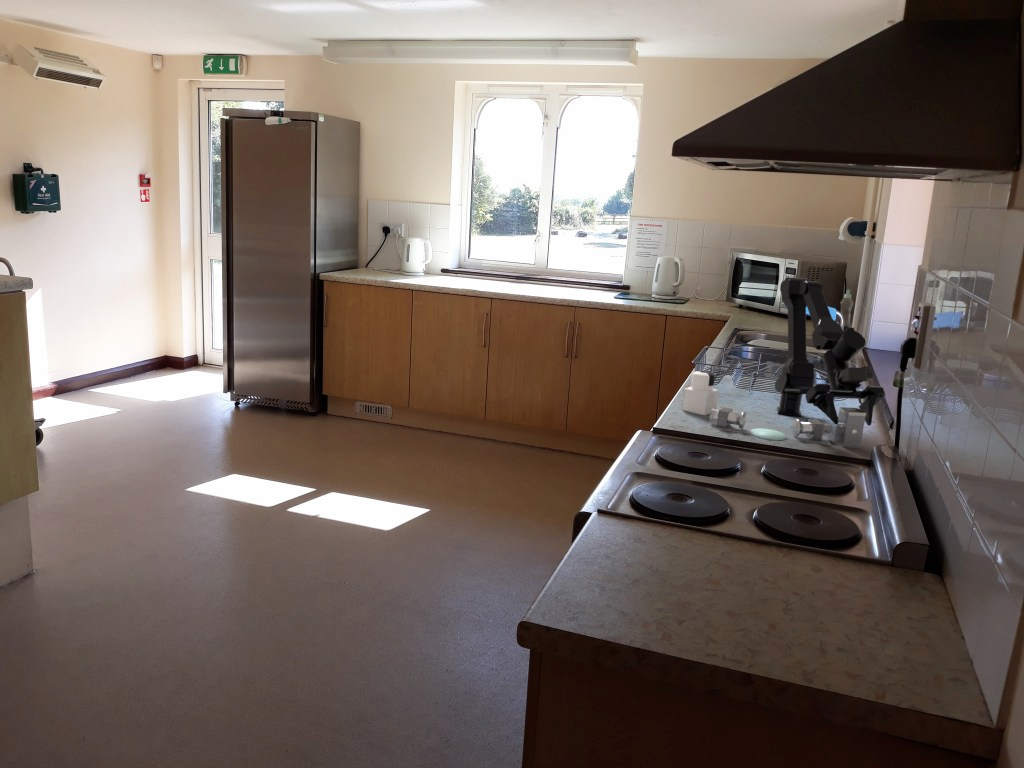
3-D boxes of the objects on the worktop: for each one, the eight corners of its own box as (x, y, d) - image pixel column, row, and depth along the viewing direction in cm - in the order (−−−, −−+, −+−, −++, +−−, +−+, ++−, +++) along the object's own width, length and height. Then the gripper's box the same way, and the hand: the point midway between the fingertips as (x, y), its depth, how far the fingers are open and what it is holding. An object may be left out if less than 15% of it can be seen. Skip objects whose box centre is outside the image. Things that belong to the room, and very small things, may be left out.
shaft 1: (744, 427, 213) (747, 410, 212) (740, 431, 210) (742, 414, 208) (712, 421, 217) (715, 404, 216) (707, 425, 214) (709, 407, 212)
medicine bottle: (692, 409, 233) (698, 367, 230) (715, 414, 229) (721, 372, 226) (680, 413, 228) (686, 371, 225) (704, 418, 223) (709, 376, 221)
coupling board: (708, 421, 221) (709, 416, 221) (825, 436, 214) (826, 432, 214) (707, 434, 208) (707, 429, 208) (831, 452, 201) (832, 447, 201)
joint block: (832, 444, 208) (838, 406, 205) (849, 445, 208) (855, 407, 206) (842, 451, 203) (849, 412, 200) (860, 452, 203) (867, 413, 201)
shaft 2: (796, 439, 206) (799, 421, 205) (790, 434, 211) (793, 416, 210) (830, 441, 206) (833, 424, 205) (823, 436, 211) (826, 419, 210)
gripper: (818, 351, 203) (833, 406, 194) (888, 355, 205) (906, 409, 197) (798, 375, 212) (812, 428, 204) (865, 378, 215) (882, 431, 206)
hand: (853, 424), depth 203 cm, fingers open, 8 cm apart
